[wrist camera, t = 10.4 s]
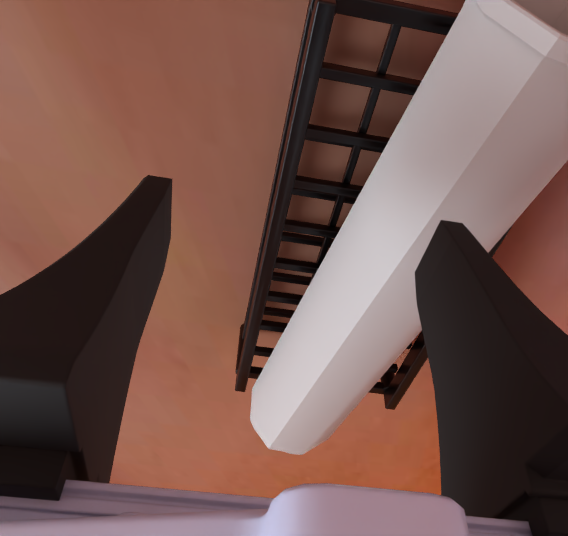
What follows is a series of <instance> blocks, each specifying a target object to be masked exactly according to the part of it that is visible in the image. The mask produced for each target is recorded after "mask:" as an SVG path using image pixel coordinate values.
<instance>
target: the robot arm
mask: <svg viewBox="0 0 568 536" xmlns="http://www.w3.org/2000/svg"><path fill="white" fill-rule="evenodd" d="M171 203H172V179H170V178H163V177H157V176H150V175H148V176H146V177H145V178H143V180H142V181H141V182H140V183H139V185H138V186H137V187H136V188H135V189H134V191H133V192H132V193H131V194H130V195H129V196H128V197H127V199H126V200H125V201H124V202H123V203H122V204H121V205H120V206H119V207H118V208H117V209H116V210H115V211H114V212H113V213H112V214H111V215H110V216H109V217H108V218H107V219H106V220H105V221H104V222H103V223H102V224H101V225H100V226H99V227H98V228H97V229H96V230H94V231H93V232H92V233H91V234H90V235H89V236H88V237H86V238H85V239H84V240H83V241H82V242H81V243H80V244H78V245H77V246H76V247H75V248H73V249H72V250H71V251H70V252H68V253H67V254H66V255H64V256H63V257H61V258H60V259H59V260H57V261H56V262H55V263H53V264H52V265H50V266H49V267H47V268H46V269H44V270H43V271H41V272H39V273H38V274H36V275H35V276H33V277H32V278H30V279H28V280H27V281H25V282H23V283H22V284H20V285H18V286H17V287H15V288H13V289H11V290H9V291H7V292H5V293H3V294H1V295H0V536H568V335H567V334H565V333H564V332H563V331H562V330H561V329H560V328H559V327H558V326H556V325H555V324H554V323H553V322H552V321H551V320H550V319H549V318H548V317H546V316H545V315H544V314H543V313H542V312H541V311H540V310H539V309H538V308H537V307H536V306H535V305H534V304H533V303H532V302H531V301H530V300H529V299H528V298H527V297H526V296H525V295H524V293H523V292H522V291H521V290H520V289H519V288H518V287H517V286H516V285H515V284H514V283H513V282H512V280H511V279H510V278H509V277H508V276H507V275H506V274H505V272H504V271H503V270H502V269H501V268H500V267H499V265H498V264H497V263H496V262H495V261H494V260H493V258H492V257H491V256H490V255H489V253H488V252H487V251H486V250H485V249H484V247H483V246H482V245H481V244H480V243H479V241H478V240H477V239H476V238H475V237H474V235H473V234H472V233H471V232H470V231H469V230H468V229H467V227H466V226H465V225H464V224H463V223H459V222H452V221H446V220H440V222H439V224H438V226H437V228H436V230H435V232H434V234H433V236H432V238H431V240H430V243H429V245H428V247H427V249H426V251H425V253H424V255H423V257H422V259H421V261H420V263H419V265H418V267H417V269H416V271H415V288H416V301H417V308H418V313H419V318H420V322H421V327H422V332H423V336H424V341H425V345H426V350H427V354H428V359H429V363H430V368H431V372H432V378H433V384H434V390H435V400H436V410H437V420H438V433H439V447H440V467H441V495H436V494H432V493H423V492H412V491H402V490H391V489H381V488H370V487H360V486H349V485H339V484H328V483H324V484H302V485H298V486H294V487H291V488H287V489H285V490H284V491H282V492H281V493H280V494H279V495H278V496H277V497H276V498H264V497H253V496H242V495H231V494H220V493H209V492H198V491H187V490H176V489H165V488H154V487H143V486H132V485H121V484H110V483H109V481H110V476H111V470H112V465H113V460H114V455H115V450H116V445H117V440H118V435H119V430H120V425H121V421H122V416H123V411H124V406H125V402H126V397H127V393H128V388H129V383H130V379H131V375H132V370H133V366H134V361H135V357H136V353H137V349H138V346H139V342H140V339H141V336H142V333H143V330H144V327H145V324H146V321H147V319H148V316H149V313H150V310H151V307H152V304H153V301H154V298H155V295H156V292H157V289H158V286H159V284H160V281H161V278H162V275H163V272H164V267H165V263H166V258H167V253H168V248H169V243H170V238H171Z"/></svg>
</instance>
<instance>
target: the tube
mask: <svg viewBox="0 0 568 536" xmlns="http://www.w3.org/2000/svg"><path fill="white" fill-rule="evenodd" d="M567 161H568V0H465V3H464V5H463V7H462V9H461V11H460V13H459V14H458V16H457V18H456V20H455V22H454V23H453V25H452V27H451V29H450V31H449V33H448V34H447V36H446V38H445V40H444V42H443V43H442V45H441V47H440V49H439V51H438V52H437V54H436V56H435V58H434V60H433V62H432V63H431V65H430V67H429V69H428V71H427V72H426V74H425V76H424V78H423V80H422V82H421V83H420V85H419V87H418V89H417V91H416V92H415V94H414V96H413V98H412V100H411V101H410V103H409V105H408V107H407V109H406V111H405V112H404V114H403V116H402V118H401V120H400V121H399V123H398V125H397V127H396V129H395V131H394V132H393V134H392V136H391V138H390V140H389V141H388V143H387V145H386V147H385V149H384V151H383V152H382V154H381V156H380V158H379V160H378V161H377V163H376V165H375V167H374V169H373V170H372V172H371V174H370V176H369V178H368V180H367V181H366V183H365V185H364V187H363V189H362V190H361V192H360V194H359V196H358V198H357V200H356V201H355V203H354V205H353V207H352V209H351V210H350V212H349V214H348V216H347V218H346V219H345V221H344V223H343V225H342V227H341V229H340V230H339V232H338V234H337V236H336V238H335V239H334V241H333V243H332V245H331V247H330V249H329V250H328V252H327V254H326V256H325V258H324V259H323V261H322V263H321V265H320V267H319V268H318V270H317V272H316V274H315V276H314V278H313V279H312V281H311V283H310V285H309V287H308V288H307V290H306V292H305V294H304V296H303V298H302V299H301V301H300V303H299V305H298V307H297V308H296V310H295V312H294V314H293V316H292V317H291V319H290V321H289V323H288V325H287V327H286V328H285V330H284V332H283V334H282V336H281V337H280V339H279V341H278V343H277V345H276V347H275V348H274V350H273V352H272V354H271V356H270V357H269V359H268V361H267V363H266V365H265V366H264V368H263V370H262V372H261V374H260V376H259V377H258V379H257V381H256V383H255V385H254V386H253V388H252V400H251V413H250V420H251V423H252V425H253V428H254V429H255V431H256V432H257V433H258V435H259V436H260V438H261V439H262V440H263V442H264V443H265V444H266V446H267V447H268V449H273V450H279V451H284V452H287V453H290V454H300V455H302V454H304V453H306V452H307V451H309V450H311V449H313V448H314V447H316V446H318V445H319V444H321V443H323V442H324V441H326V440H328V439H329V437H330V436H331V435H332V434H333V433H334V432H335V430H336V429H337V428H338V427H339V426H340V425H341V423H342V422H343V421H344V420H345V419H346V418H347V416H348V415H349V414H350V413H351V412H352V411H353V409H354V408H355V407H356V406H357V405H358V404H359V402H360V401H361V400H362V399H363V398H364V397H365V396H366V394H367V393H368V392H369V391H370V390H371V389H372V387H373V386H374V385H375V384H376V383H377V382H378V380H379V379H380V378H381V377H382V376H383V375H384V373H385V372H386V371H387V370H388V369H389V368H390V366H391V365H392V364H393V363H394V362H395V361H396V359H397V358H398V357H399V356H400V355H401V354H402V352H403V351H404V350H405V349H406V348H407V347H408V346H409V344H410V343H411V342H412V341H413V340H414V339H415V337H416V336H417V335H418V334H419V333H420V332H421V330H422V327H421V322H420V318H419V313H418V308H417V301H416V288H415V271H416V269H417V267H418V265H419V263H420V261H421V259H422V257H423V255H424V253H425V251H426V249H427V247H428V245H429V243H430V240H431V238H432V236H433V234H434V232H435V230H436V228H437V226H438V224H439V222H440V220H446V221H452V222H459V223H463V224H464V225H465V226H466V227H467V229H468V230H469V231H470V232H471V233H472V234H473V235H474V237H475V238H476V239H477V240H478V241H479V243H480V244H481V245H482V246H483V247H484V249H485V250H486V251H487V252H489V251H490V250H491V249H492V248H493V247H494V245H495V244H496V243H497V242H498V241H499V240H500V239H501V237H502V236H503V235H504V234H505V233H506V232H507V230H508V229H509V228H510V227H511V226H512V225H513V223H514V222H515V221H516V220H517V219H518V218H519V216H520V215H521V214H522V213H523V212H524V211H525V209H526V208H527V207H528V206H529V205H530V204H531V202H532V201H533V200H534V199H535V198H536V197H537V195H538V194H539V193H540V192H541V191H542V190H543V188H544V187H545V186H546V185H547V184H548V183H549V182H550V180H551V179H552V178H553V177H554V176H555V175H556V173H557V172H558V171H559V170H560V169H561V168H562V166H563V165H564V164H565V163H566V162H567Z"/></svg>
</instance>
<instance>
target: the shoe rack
mask: <svg viewBox="0 0 568 536" xmlns="http://www.w3.org/2000/svg"><path fill="white" fill-rule="evenodd" d="M336 13H338V14H343V15H348V16H353V17H358V18H363V19H368V20H373V21H378V22H383V23H388V24H391V26H390V29H389V33H388V36H387V39H386V42H385V45H384V49H383V52H382V55H381V58H380V61H379V64H378V68H377V71H376V72H373V71H368V70H363V69H357V68H352V67H347V66H342V65H336V64H331V63H326V62H323V60H324V56H325V52H326V48H327V44H328V39H329V35H330V31H331V27H332V23H333V18H334V16H335V14H336ZM457 16H458V14H457V13H453V12H448V11H443V10H438V9H433V8H428V7H423V6H418V5H414V4H409V3H404V2H399V1H394V0H309V5H308V10H307V15H306V20H305V25H304V30H303V35H302V40H301V45H300V50H299V54H298V59H297V64H296V69H295V74H294V79H293V84H292V89H291V94H290V99H289V104H288V109H287V114H286V119H285V124H284V129H283V134H282V139H281V144H280V149H279V154H278V159H277V164H276V169H275V174H274V179H273V184H272V189H271V194H270V199H269V204H268V209H267V214H266V219H265V224H264V229H263V233H262V238H261V243H260V248H259V253H258V258H257V263H256V268H255V273H254V278H253V283H252V288H251V293H250V298H249V303H248V308H247V313H246V318H245V323H244V324H243V325H241V327H240V335H239V345H238V354H237V364H236V374H237V377H236V386H235V391H241V392H245V390H246V385H247V381H248V378H254V379H258V377H259V376H260V374H261V372H262V370H263V368H261V367H253V366H251V364H252V360H253V356H254V355H258V356H265V357H270V356H271V354H272V352H273V350H274V348H267V347H259V346H256V343H257V339H258V335H259V330H268V331H276V332H284V330H285V328H286V327H287V325H288V323H281V322H274V321H266V320H262V318H263V314H264V315H271V316H279V317H286V318H291V317H292V316H293V314H294V312H295V311H294V310H286V309H279V308H272V307H265V305H266V301H273V302H280V303H288V304H295V305H299V303H300V301H301V299H302V298H303V296H304V295H297V294H290V293H283V292H276V291H269V288H270V284H271V280H274V281H281V282H288V283H295V284H302V285H310V283H311V281H312V279H313V278H314V276H315V274H316V272H317V270H318V268H319V267H320V265H321V263H322V261H323V259H324V258H325V256H326V254H327V251H328V248H330V247H331V245H332V243H333V241H334V239H332V238H336V236H337V234H338V232H339V230H340V229H341V228H340V227H336V224H337V221H338V218H339V215H340V212H341V209H342V205H343V203H349V204H354V203H355V201H356V200H357V198H358V196H359V194H360V192H361V190H362V189H363V187H364V186H359V185H353V184H350V181H351V178H352V175H353V172H354V169H355V166H356V163H357V160H358V157H359V154H360V151H361V149H363V150H368V151H374V152H380V153H382V152H383V151H384V149H385V147H386V145H387V143H388V141H389V140H390V138H386V137H380V136H375V135H369V134H366V132H367V129H368V126H369V123H370V120H371V117H372V114H373V111H374V108H375V105H376V102H377V99H378V96H379V93H380V90H381V89H382V90H388V91H393V92H399V93H404V94H409V95H414V94H415V92H416V91H417V89H418V87H419V85H420V83H421V82H422V81H421V80H416V79H410V78H405V77H400V76H394V75H389V74H386V71H387V68H388V65H389V62H390V59H391V56H392V53H393V50H394V47H395V44H396V41H397V38H398V35H399V32H400V29H401V26H403V27H408V28H413V29H418V30H423V31H428V32H433V33H438V34H443V35H447V34H448V33H449V31H450V29H451V27H452V25H453V23H454V22H455V20H456V18H457ZM319 78H323V79H329V80H334V81H339V82H345V83H350V84H355V85H361V86H366V87H371V90H370V93H369V96H368V100H367V103H366V106H365V109H364V112H363V115H362V119H361V122H360V125H359V128H358V131H357V132H352V131H346V130H341V129H335V128H329V127H323V126H318V125H312V124H309V120H310V115H311V111H312V107H313V103H314V98H315V94H316V90H317V86H318V82H319ZM305 140H310V141H316V142H322V143H328V144H334V145H339V146H345V147H351V148H352V150H351V154H350V157H349V160H348V163H347V166H346V170H345V173H344V176H343V179H342V182H335V181H329V180H323V179H317V178H311V177H304V176H298V175H296V174H297V170H298V166H299V162H300V157H301V153H302V149H303V145H304V141H305ZM292 194H293V195H299V196H306V197H312V198H318V199H324V200H330V201H335V205H334V208H333V211H332V214H331V217H330V220H329V224H328V226H327V225H321V224H314V223H308V222H301V221H295V220H288V219H286V217H287V212H288V208H289V204H290V200H291V195H292ZM513 224H514V223H513ZM511 227H512V226H511ZM511 227H510V228H509V229H508V230H507V232H506V233H505V234H504V235H503V236H502V237H501V239H500V240H499V241H498V242H497V243H496V244H495V245H494V247H493V248H492V249H491V250H490V251H489V252H488V253H489V255H490V256H491V257H493V255H494V254H495V252H496V250H497V249H498V247H499V246H500V244H501V243H502V241H503V239H504V238H505V236H506V235H507V233H508V232H509V230H510V229H511ZM283 231H289V232H296V233H302V234H309V235H315V236H322V237H324V238H322V237H315V236H309V235H302V234H296V233H289V232H283ZM281 241H287V242H294V243H300V244H307V245H314V246H320V247H321V249H320V252H319V255H318V259H317V262H316V263H313V262H306V261H299V260H293V259H286V258H279V257H277V255H278V250H279V246H280V242H281ZM274 268H278V269H285V270H292V271H299V272H306V273H313V275H312V277H306V276H299V275H292V274H285V273H278V272H273V271H274ZM411 346H412V342H411V343H410V344H409V346H408V347H407V348H406V349H410V348H411ZM427 358H428V354H427V350H426V345H425V341H424V336H423V332H422V331H421V333H420V334H419V336H418V338H417V339H416V341H415V343H414V344H413V346H412V348H411V350H410V351H409V353H408V355H407V356H406V358H405V360H404V361H403V363H402V365H401V367H400V368H399V370H398V367H397V364H392V365H391V366H390V368H389V369H388V370H387V371H386V372H385V373H384V375H383V376H382V377H381V382H377V383H376V384H375V385H374V386H373V387H372V389H371V390H370V391H369V393H378V394H384V400H385V408H386V409H393V410H394V409H395V408H396V406H397V405H398V403H399V402H400V400H401V399H402V397H403V395H404V394H405V392H406V391H407V389H408V388H409V386H410V385H411V383H412V381H413V380H414V378H415V377H416V375H417V374H418V372H419V370H420V369H421V367H422V366H423V364H424V363H425V361H426V360H427ZM397 370H398V372H397ZM396 372H397V373H396ZM394 373H396V375H395V374H394Z"/></svg>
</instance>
